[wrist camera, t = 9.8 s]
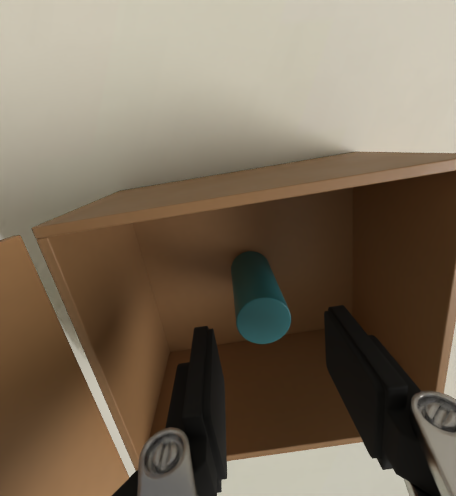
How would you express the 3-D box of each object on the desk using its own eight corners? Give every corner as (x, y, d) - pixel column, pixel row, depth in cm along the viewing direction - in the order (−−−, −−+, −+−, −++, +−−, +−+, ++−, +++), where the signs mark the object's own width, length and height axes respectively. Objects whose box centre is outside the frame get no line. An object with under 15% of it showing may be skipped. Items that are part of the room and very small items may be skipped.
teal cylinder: (234, 288, 19) (240, 348, 13) (228, 254, 18) (232, 302, 12) (271, 282, 19) (293, 340, 13) (267, 248, 18) (289, 293, 12)
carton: (167, 353, 21) (136, 474, 13) (119, 190, 17) (30, 228, 9) (354, 324, 21) (437, 431, 13) (356, 151, 16) (484, 153, 8)
